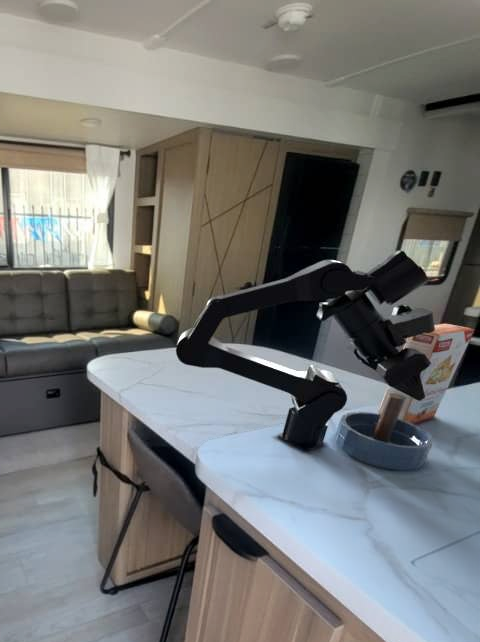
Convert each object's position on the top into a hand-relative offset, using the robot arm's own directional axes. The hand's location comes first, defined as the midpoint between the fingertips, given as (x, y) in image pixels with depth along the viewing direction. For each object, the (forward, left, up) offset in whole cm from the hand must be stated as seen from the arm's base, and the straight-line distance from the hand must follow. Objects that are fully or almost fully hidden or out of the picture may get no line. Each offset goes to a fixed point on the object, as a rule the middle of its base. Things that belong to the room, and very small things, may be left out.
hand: (409, 389), depth 73 cm
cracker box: (-5, +22, -13) cm, 26 cm away
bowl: (-1, -1, -13) cm, 13 cm away
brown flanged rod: (-1, -1, -12) cm, 13 cm away
